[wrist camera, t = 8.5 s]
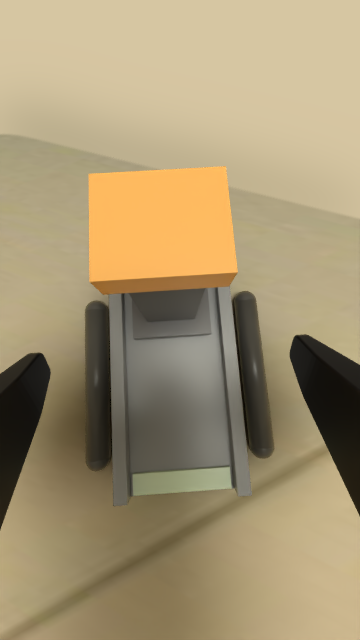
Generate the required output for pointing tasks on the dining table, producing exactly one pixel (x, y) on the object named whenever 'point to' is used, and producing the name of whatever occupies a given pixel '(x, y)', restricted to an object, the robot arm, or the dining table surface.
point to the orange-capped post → (162, 245)
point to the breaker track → (176, 400)
